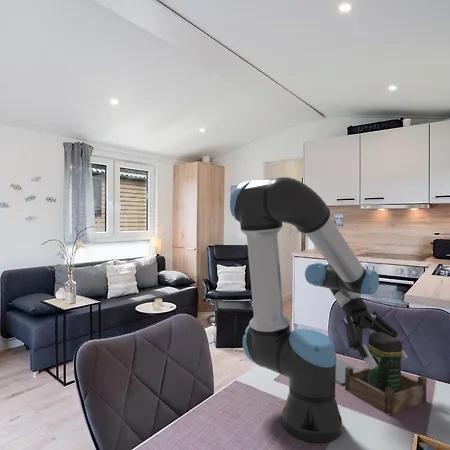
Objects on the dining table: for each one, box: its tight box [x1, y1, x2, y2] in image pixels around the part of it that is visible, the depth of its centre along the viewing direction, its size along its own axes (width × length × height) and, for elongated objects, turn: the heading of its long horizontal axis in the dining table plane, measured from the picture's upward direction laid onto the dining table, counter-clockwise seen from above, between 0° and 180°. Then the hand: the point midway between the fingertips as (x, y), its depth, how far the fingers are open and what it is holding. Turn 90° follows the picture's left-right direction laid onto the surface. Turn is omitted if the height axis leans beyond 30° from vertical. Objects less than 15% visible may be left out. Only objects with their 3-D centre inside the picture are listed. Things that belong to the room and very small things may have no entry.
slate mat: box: [335, 359, 361, 386], centre depth 121 cm, size 14×14×1 cm
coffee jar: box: [367, 331, 404, 393], centre depth 105 cm, size 10×8×19 cm
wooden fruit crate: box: [344, 366, 428, 416], centre depth 105 cm, size 16×16×7 cm
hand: (389, 363), depth 104 cm, fingers open, 13 cm apart
